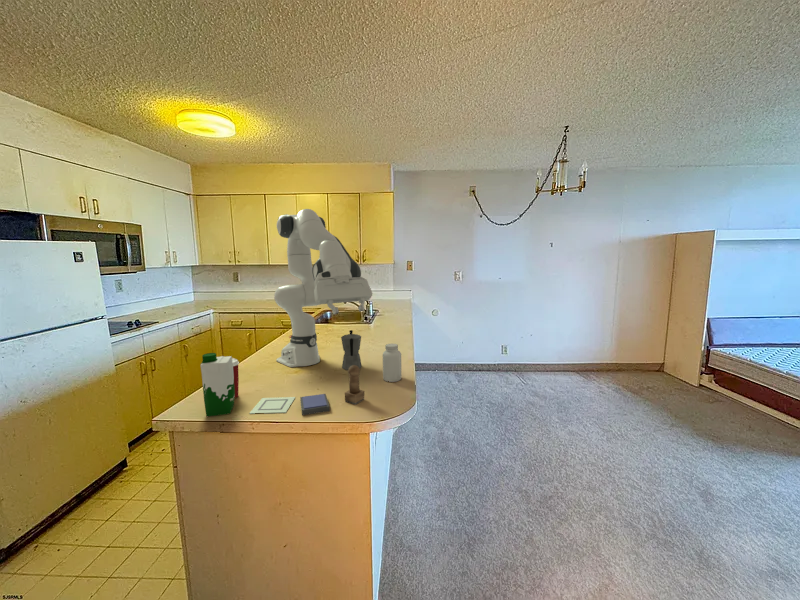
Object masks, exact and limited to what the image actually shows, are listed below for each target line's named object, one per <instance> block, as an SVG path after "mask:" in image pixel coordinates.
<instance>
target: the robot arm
mask: <svg viewBox="0 0 800 600" xmlns="http://www.w3.org/2000/svg"><path fill="white" fill-rule="evenodd" d="M276 230H277V232H278V235H279V236H280V237H281V238H285V239H287V245H286V246H287V247H286V248H287V249H286V255H287V256H286V257H287V267H288V272H289V274H290V275H292V276H293V277H295V278H298V279H299V280H300V281H301V283H300V284H298V283H297V284H285V285H282V286H279V287H277V288H276V289H275V292H274V294H273V296H274V302H275V304H277V306H278V307H280V309H283V310H284V311H285V312H286V313H287V315H288V316H289V319H290V322H291V333H292V335H290V336H288V338H289V339H290V341H289V342H288V343H287V344H286V345H285V346H284V347H283V348H282V349H281V352H280V353H281V355H280V356H279V357H277V358H276V362H278V363H280V364H282V365H284V366H287V367H289V368H295V367H296V368H297V367H307V366H311V365H317V364H318V363H320V361H321V359H320V358H321V356H320V355H319V347H318V343H317V340H318V339H317V337H318V336H317V333H316V319H315V317H314V315H312V314H310V313H308V312H305V311H304V310H303V308H304V307H317V306H320V305H327V307H328V308H329V309H330V310H331V311H332V315H338V314H339V306H335V305H334V304H339V303H341V304H343V303H351V302H352V303H354V302H358V304H360V305H359V306H357V309H358V312H361V313H362V312H364V311H365V306H364V305H365V302H366V301H370V299H371V298H372V296H373V291H372V289H371V286H370V284H369V282H368V279H366V278H364V277H363V276H362V271H361V267H360V265H359V263H357V261H355V260H354V259H353V257H352V256H351V255H350V254H349V252H348V250H347V249H346V248H345V246H344V244H342V242H341V241H340V239H339V238H338V237H337V236H335V235H334V234H332V233H331V232H330V231H328V229H327V227H326V221H325V219H324V218H323V217H321V216H319V215H318V213H317V212H316V211H314V210H313V209H311V208H304V209H301V210H300V211H299V212H297V214H287V213H286V214H282V215H280V216H279V217H277V221H276ZM311 250H315V251H319V256H318V257H319V258H318V259H317V260H316V262H314V264H313V262H312V253H311Z"/></svg>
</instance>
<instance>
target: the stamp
mask: <svg viewBox="0 0 800 600" xmlns="http://www.w3.org/2000/svg"><path fill="white" fill-rule="evenodd" d="M360 369H361V368H360ZM360 369H359V367H358V366H356V365H352V366H350V367H349V369H348V370H347V373H348V381H349V382H348V385H349V390H347V391H345V392H344V401H345V403H349V404H352V405H357V404H359V403H361V402H363V401H364V400H365V390H363V389H360V373H361V370H360Z"/></svg>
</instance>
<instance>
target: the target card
mask: <svg viewBox="0 0 800 600" xmlns="http://www.w3.org/2000/svg"><path fill="white" fill-rule="evenodd" d="M295 399H296V396H286V397H282V396H281V397H279V396H278V397H262V398H260V400H259V402H257V404H256V405H255V406H254V407H253V408H252V409H251V410H250V412H249V415H255V413H264V414H287V412H288V411H289V409H290V407H291V406H290V405H292V404H293V402H294V401H295Z"/></svg>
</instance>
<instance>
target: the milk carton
mask: <svg viewBox="0 0 800 600" xmlns="http://www.w3.org/2000/svg"><path fill="white" fill-rule="evenodd" d="M232 356H233V355H231V356H230V355H229V356H228V355H227V356H224V355H221V356H217V353H216V352H209V353H204V354H202V361H201V363H200V372H201V379H202V380H201V381H202V382H201V383H202V392H203V403H204V410H205V416H206V417H207V416H208V417H216V416H221V415H230V414H231V412H232V411H231V410H233V408H234V406H235V400H236V398H235V387H234V373H233V363H232V358H233V357H232Z"/></svg>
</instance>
